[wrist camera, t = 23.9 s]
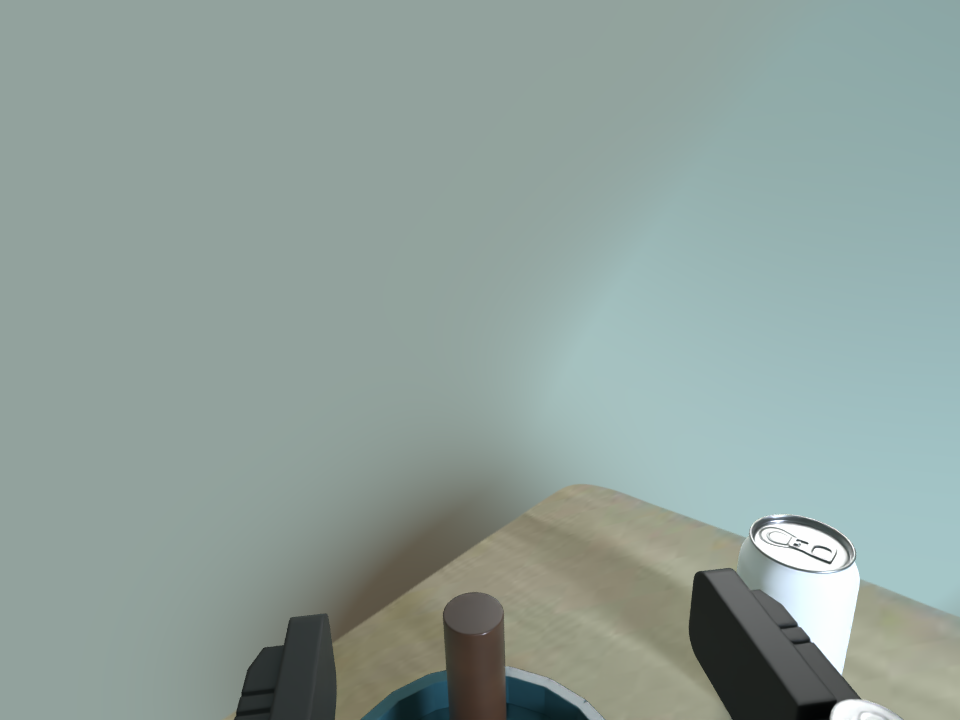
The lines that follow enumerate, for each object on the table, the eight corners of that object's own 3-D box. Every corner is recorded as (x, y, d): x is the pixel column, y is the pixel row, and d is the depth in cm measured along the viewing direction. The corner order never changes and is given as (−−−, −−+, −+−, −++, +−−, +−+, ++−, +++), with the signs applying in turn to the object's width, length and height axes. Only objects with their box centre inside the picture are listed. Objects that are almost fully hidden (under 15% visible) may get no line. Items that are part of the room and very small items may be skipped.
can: (743, 644, 45) (763, 498, 41) (844, 691, 41) (876, 535, 37) (707, 703, 41) (724, 546, 37) (816, 763, 37) (849, 593, 33)
